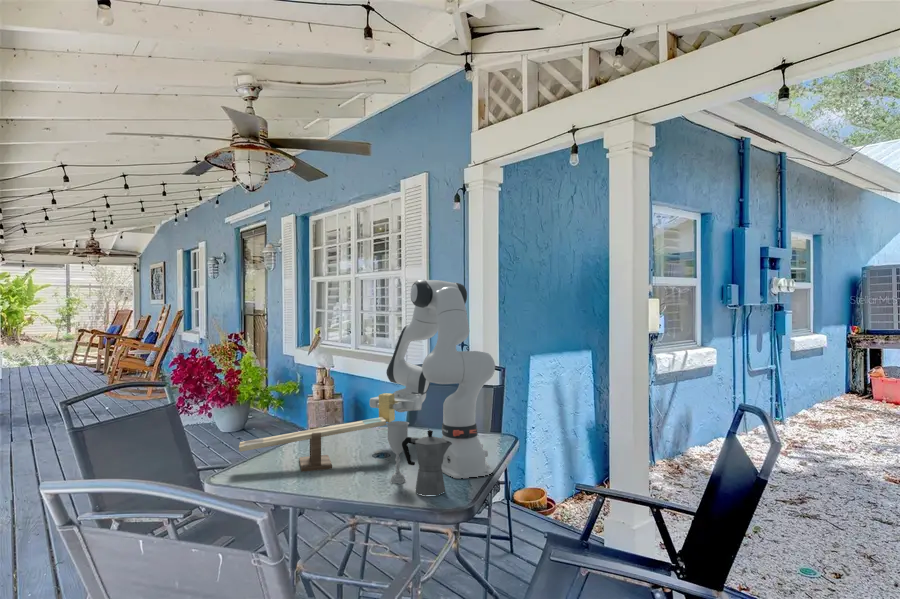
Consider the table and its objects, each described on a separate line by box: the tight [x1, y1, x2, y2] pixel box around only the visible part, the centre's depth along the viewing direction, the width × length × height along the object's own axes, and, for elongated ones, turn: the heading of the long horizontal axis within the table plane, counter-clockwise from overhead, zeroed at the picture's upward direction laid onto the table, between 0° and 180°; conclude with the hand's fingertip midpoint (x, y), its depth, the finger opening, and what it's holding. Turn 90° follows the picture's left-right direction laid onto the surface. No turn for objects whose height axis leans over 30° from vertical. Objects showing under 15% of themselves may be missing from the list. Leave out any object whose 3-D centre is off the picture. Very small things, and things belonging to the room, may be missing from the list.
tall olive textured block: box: [378, 392, 396, 423], centre depth 204 cm, size 4×4×10 cm
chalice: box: [385, 420, 410, 484], centre depth 168 cm, size 7×7×18 cm
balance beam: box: [238, 416, 387, 453], centre depth 187 cm, size 7×49×2 cm, turn 108°
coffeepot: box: [402, 429, 452, 495], centre depth 159 cm, size 15×9×18 cm, turn 75°
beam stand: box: [298, 426, 333, 473], centre depth 187 cm, size 14×10×12 cm
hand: (385, 406), depth 203 cm, fingers closed on tall olive textured block, 4 cm apart
